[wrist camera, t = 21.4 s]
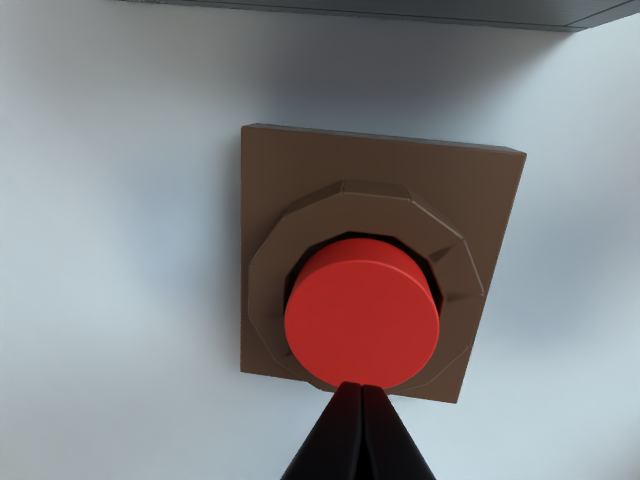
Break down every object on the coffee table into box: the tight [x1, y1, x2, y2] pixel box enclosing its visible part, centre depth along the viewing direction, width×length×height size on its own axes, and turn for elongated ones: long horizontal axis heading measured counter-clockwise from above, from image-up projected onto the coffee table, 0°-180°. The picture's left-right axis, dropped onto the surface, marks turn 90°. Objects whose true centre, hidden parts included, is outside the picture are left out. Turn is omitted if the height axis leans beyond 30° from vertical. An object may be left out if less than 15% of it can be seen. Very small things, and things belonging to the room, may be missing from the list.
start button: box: [284, 238, 439, 389], centre depth 11 cm, size 4×4×2 cm
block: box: [240, 123, 527, 404], centre depth 13 cm, size 10×9×4 cm
